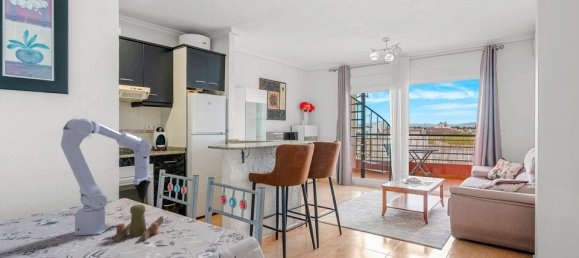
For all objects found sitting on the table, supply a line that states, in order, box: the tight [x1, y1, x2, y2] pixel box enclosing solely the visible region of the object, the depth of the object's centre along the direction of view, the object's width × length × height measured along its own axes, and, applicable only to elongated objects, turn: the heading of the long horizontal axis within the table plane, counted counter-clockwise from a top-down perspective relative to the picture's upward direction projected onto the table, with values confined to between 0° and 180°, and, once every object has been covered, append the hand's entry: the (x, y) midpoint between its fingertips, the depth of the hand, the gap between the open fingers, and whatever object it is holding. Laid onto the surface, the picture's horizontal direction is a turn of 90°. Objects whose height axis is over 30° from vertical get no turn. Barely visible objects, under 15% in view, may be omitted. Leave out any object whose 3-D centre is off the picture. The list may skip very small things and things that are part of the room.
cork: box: [128, 204, 147, 238], centre depth 119 cm, size 6×6×11 cm
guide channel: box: [114, 215, 164, 243], centre depth 122 cm, size 14×21×4 cm
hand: (142, 197), depth 137 cm, fingers closed
